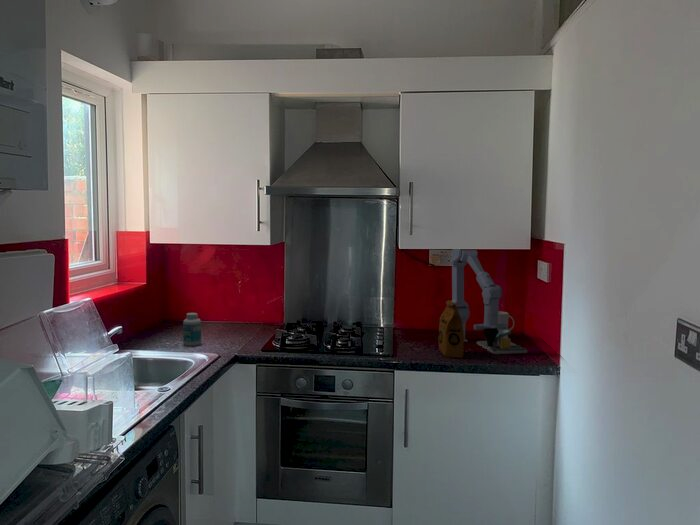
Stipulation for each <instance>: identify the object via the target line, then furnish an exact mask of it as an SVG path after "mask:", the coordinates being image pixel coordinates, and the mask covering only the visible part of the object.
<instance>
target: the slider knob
mask: <svg viewBox="0 0 700 525" xmlns="http://www.w3.org/2000/svg"><path fill="white" fill-rule="evenodd" d="M511 340H512V339H511V338H510V337H509V336H508V337H501V348H510V345H511V342H512V341H511Z"/></svg>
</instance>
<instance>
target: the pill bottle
mask: <svg viewBox="0 0 700 525" xmlns="http://www.w3.org/2000/svg"><path fill="white" fill-rule="evenodd" d="M198 317H199V315H198V313H197V312H187V313H186V316H185V319H184V320H182V321H183V322H182V325H183V326H182V327H183V330H182V332H183V338H182V340H183V345H184V346H186V347H187V346H188V347H196V346H199V345H201V344H202V319H200V318H198Z"/></svg>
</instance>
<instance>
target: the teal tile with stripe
mask: <svg viewBox="0 0 700 525" xmlns="http://www.w3.org/2000/svg"><path fill="white" fill-rule="evenodd" d="M499 334H503V337H504V336H506V335H508V336H509V335H511V334H512V330H510V331H509V330H504V331H502V332H499V333H498V334H497V336H496V337H497V339H498V340H499Z"/></svg>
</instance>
